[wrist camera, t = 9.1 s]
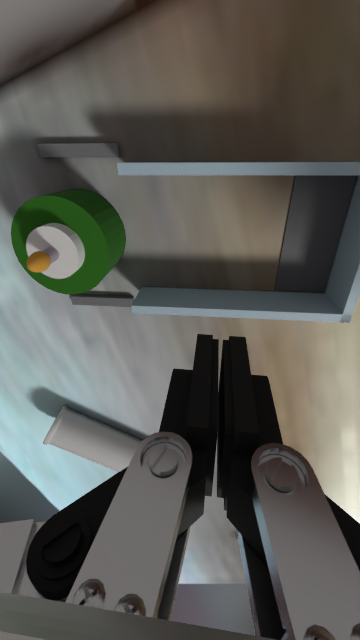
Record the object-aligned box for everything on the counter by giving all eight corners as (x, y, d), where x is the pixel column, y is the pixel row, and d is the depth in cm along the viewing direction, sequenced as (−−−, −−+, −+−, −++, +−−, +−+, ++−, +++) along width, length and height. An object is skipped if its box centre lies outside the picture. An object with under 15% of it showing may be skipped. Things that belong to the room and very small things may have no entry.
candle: (37, 249, 29) (-35, 287, 21) (56, 171, 25) (-23, 177, 17) (109, 286, 31) (70, 335, 22) (138, 216, 27) (104, 244, 18)
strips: (118, 143, 24) (116, 143, 23) (134, 304, 31) (133, 306, 31) (40, 144, 24) (37, 143, 24) (74, 302, 32) (72, 304, 31)
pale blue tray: (372, 161, 23) (406, 162, 19) (330, 300, 29) (349, 322, 25) (131, 162, 24) (117, 162, 20) (142, 293, 31) (132, 313, 27)
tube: (213, 486, 41) (54, 419, 37) (195, 512, 42) (38, 450, 38) (207, 460, 47) (67, 398, 42) (191, 483, 48) (52, 426, 43)
